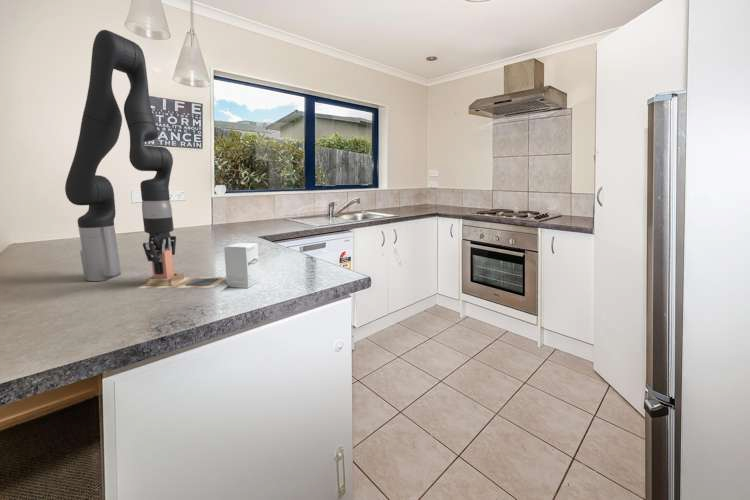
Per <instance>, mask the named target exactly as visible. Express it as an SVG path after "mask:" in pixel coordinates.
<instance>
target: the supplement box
mask: <svg viewBox="0 0 750 500" xmlns="http://www.w3.org/2000/svg"><path fill="white" fill-rule="evenodd" d="M223 250H224V260H225V261H224V263H225V275H226V276H225V277H226V279H225V280H226V284H227V285H226V288H227V287H228V288H240V289H249V288H250V287H252V286H254V285H256V284H257V283H259V282H261V281H260V280H261V278H260V261H259V245H258V243H255V242H253V243H252V242H236V243H233V244H229V245H227V246H224V247H223Z"/></svg>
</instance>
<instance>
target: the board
mask: <svg viewBox="0 0 750 500" xmlns="http://www.w3.org/2000/svg"><path fill="white" fill-rule="evenodd" d="M225 280H226V276H225V277H223V276H222V277H221V276H220V277H211V276H210V277H209V276H208V277H185V272H174V277H172V278H170V279H154V277H153V275H152V276H151V277H148V278H146V279H145V283H144V284H142V285H140V286H137V289H188V288H189V289H192V288H193V289H199V288H200V289H202V288H203V289H204V288H205V289H207V288H208V289H211V288H215V287H216V286H217V285H219V284H220V283H222V282H223V281H225Z"/></svg>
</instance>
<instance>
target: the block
mask: <svg viewBox="0 0 750 500" xmlns="http://www.w3.org/2000/svg"><path fill="white" fill-rule="evenodd" d="M156 251H160V250H156ZM157 255H158V258H159V254H157ZM151 257H152V255H151ZM173 261H174V260H173V255H172V250H164V252H163V254H162V263H163V272H164V273H163V274H155V269H154V263H153V262H152V261H151V268H152V274H153V275H152V276H153V277H154V279H170V278H172V277H174V273H175V270H174V269H175V267H174V262H173Z"/></svg>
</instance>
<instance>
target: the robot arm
mask: <svg viewBox="0 0 750 500" xmlns="http://www.w3.org/2000/svg"><path fill="white" fill-rule="evenodd" d="M93 40H94V41H93V44H92V49H91V50H92V52H91V62H90V71H89V74H90V75H89V82H88V88H87V94H86V101H85V104H84V105H85V106H84V109H83V112H82V113H83V114H82V117H81V123H80V128H79V135H78V139H77V145H76V147H75V152H74V155H73V156H74V157H73V159H72V162H71V166H70V168H69V171H68V174H67V177H66V179H65V187H64V191H65V195H66V198H67V199H68V201H69V202H70V203H71V204H73V205H75V206H88V210H87V211H86V213H84V214H83V215H81V216H79V217H78V219H77V227H78V232H79V239H80V240H79V241H80V247H81V249H80V251H79V252H80V260H81V265H82V273H83V278H84V280H86V281H89V282H100V281H101V282H102V281H108V280H111V279H113V278H116V277H118V276H120V275H122V271H121V263H120V257H119V255H120V254H119V249H118V243H117V236H116V235H117V234H116V229H115V218H116V203H115V202H116V199H115V192H114V187H113V185H112V183H111V181H110V179H108V178H107V177H105V176H104V175H98V174H97V175H96V173H97V169H98V168H99V165H100V163H101V162H102V160H103V159H104V158H105V157H106V155H108V154H109V153H110V151H112V149H114V147H115V145H116V144H117V142H118V140H119V138H120V132H121V130H122V129H121V128H122V125H123V124H122V123H123V116H122V112H121V110H120V107H119V105H118V102H117V99H116V97H115V95H114V91H113V83H112V82H113V73H114V72H113V71H114V70H116V71H118V72H121V73H124V74H125V75H126V76H127V78H128V81H129V85H130V88H129V92H128V94H127V96H126V98H125V101H124V105H123V115H124V118H125V122H126V125H127V130H128V132H129V152H128V153H129V155H128V156H129V162H130V164H131V166H132V167H133V168H134V169H135V170H137V171H141V172H156V173H155V175H154V177H153V178H150V179H145V180H142V181H141V182H140V194H141V213H142V222H143V223H142V224H143V230H144V232H145V233H146V234H149V235H148V236H149V237H148V242H143V243H142V247H143V250H144V253H145V256H146V260H147V261H148V262H151V263H152V262H153V263H154V269H155V274H163V273H164V272H163V263H162V254H163V252H164V250H172V256H175V254H176V245H177V236H174V235H171V232H173V231H174V219H173V210H172V209H173V208H172V205H171V200H170V199H171V197H170V191H169V190H170V189H169V186H170V180H171V173H172V170H173V165H174V158H173V154H172V153H171V151H170V150H169V149H168V148H167V147H164V146H158V145H157V146H155V145H145V143H146V142H151V141H155V140H156V139H157V138H158V137H159V130H158V128H157V124H156V120H155V117H154V113H153V109H152V107H151V101H150V93H149V83H148V82H149V80H148V72H147V63H146V58H145V54H144V51H143V49H142V48H141V47H140V45H139V44H138V43H136V42H134V41H132V40H131V39H128V38H126V37H125V36H124V37H123V36H122V35H120V34H117V33H115V32H114V31H113V32H112V31H110V30H107V29H101V30H99V32H97V33H96V36H95V38H94V39H93ZM156 250H160V251H156ZM157 254H159V258H158V255H157ZM151 255H152V257H151Z"/></svg>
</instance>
